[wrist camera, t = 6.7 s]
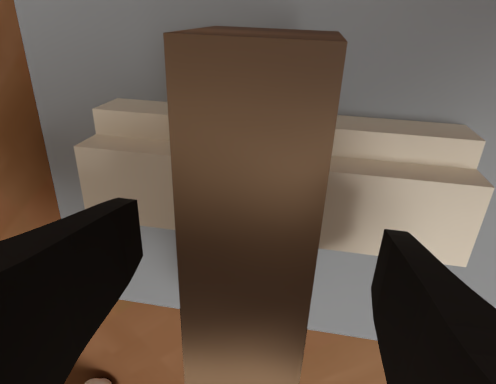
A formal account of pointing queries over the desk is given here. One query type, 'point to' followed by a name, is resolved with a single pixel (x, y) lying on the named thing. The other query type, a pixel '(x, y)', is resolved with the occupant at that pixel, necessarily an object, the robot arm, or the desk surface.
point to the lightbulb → (98, 381)
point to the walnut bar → (249, 192)
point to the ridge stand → (345, 139)
